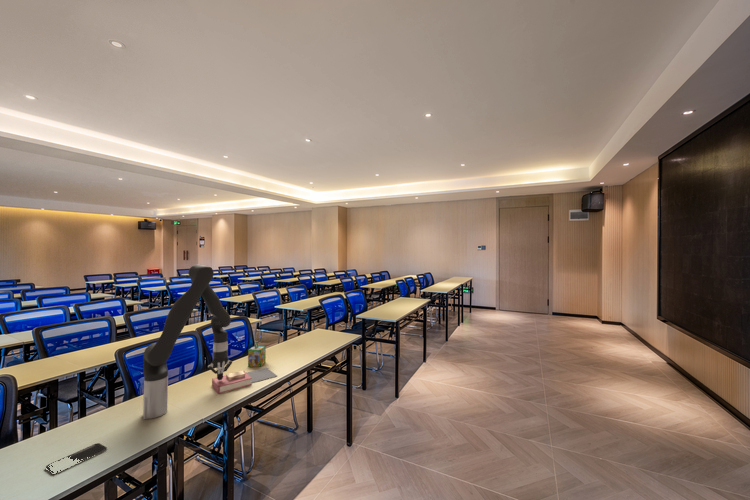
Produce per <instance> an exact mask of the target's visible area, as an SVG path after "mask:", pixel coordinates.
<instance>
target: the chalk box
mask: <svg viewBox="0 0 750 500" xmlns="http://www.w3.org/2000/svg"><path fill="white" fill-rule="evenodd" d="M258 344H259V343H258V342H256V343H254V345H253V346H252V347H250V348H249V349H248V350H247V352H248V353H247V354H248V355H247V367H250V368H251V367H256V368H257V367H261V368H262V366H263V365H264V364H265V363H266V358H267V357H266V355H267V353H266V349H267V347H266V346H263V345H262V346H261V345H258Z"/></svg>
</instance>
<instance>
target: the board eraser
mask: <svg viewBox="0 0 750 500" xmlns="http://www.w3.org/2000/svg"><path fill="white" fill-rule="evenodd" d="M243 371H244V370H239V371H234V372H231V373H226V374H225V375H226V378H227V379H228V381H231V380H235V379H239V378H243V377H245V373H244V372H243Z"/></svg>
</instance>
